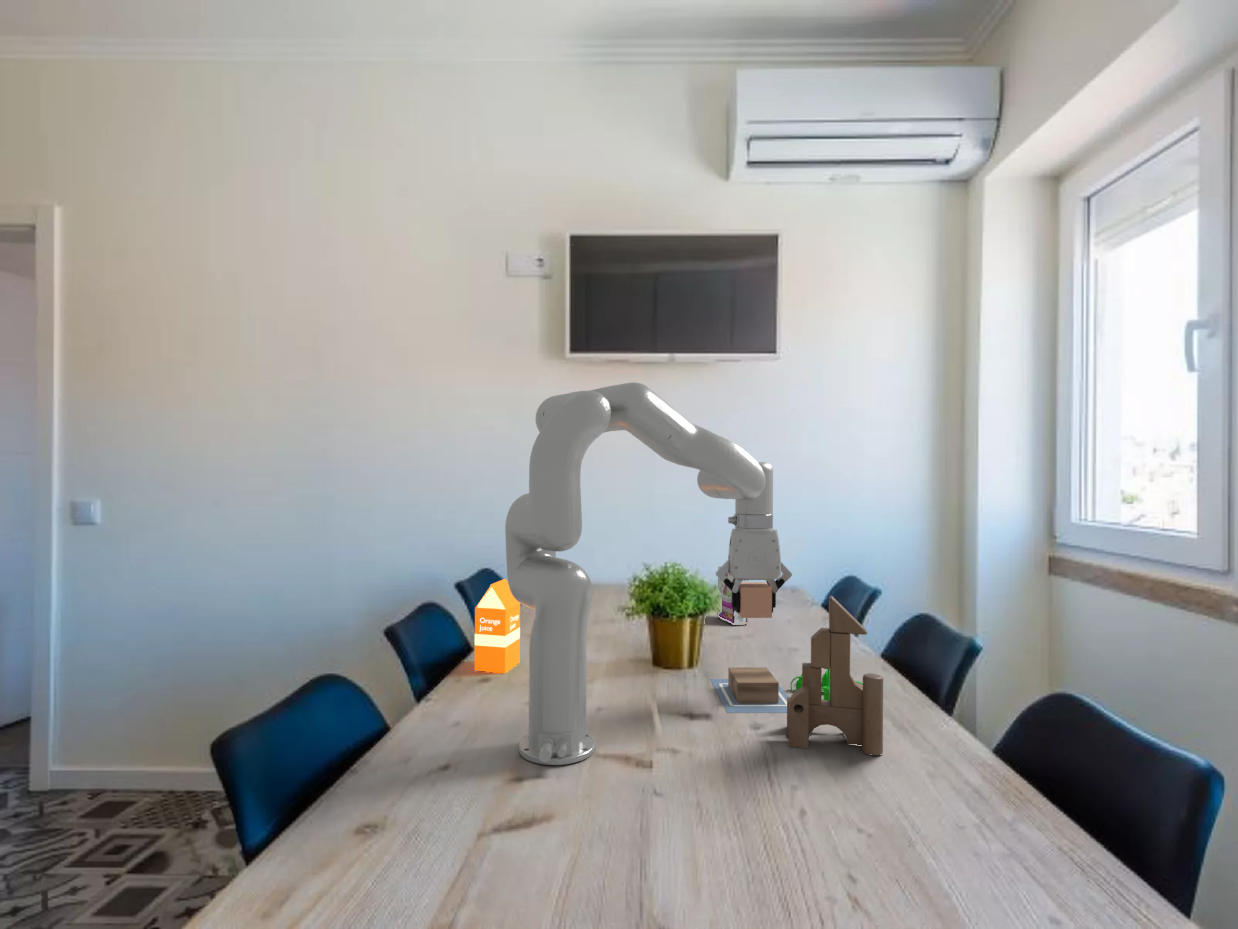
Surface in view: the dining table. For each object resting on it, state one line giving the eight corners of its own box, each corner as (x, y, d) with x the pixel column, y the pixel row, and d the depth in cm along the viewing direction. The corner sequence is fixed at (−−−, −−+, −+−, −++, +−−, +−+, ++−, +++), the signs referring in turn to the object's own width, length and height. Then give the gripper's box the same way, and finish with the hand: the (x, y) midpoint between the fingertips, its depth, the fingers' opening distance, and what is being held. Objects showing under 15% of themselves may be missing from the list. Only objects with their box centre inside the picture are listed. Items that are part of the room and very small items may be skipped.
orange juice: (473, 671, 155) (474, 583, 155) (490, 660, 163) (490, 577, 163) (505, 674, 153) (506, 585, 153) (520, 663, 161) (521, 579, 161)
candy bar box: (748, 625, 201) (749, 570, 201) (733, 626, 199) (733, 571, 199) (731, 617, 212) (731, 564, 212) (716, 618, 210) (717, 565, 210)
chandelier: (870, 716, 129) (871, 680, 129) (790, 708, 133) (790, 673, 133) (863, 690, 144) (863, 658, 144) (790, 684, 148) (791, 652, 148)
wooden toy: (786, 747, 114) (787, 599, 114) (787, 732, 121) (788, 592, 121) (884, 758, 110) (885, 604, 110) (879, 741, 117) (880, 597, 117)
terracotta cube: (771, 617, 134) (771, 587, 134) (741, 617, 134) (741, 587, 134) (764, 611, 140) (764, 582, 140) (735, 611, 140) (736, 582, 140)
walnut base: (778, 703, 132) (778, 682, 132) (737, 703, 132) (738, 682, 132) (766, 686, 142) (766, 667, 142) (728, 686, 142) (728, 667, 142)
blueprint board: (801, 717, 127) (801, 712, 127) (727, 718, 127) (727, 712, 127) (774, 683, 147) (774, 678, 147) (710, 683, 147) (710, 678, 147)
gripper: (714, 524, 133) (714, 615, 133) (801, 524, 134) (801, 615, 134) (708, 521, 141) (708, 607, 141) (790, 521, 141) (790, 607, 141)
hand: (753, 610), depth 137 cm, fingers closed on terracotta cube, 6 cm apart
